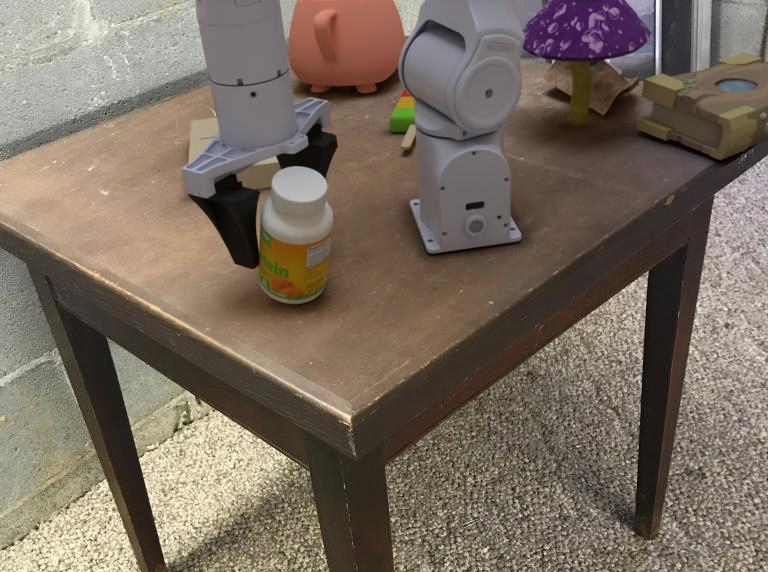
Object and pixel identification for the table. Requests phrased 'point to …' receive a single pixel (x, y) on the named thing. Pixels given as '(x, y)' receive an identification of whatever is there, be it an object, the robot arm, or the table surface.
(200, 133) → the beige flat block
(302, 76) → the pink rounded body
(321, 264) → the supplement bottle
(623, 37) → the decorative mushroom
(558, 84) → the crumpled paper bag
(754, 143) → the book
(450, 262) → the table surface
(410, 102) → the popsicle
